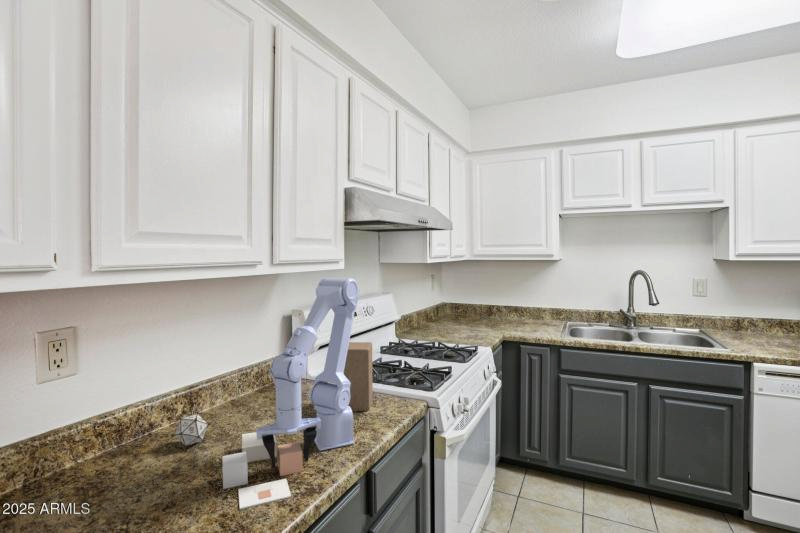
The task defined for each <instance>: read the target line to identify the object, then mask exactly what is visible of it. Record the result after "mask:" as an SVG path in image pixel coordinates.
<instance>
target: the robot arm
mask: <svg viewBox="0 0 800 533" xmlns="http://www.w3.org/2000/svg"><path fill="white" fill-rule="evenodd" d="M315 296H316V298H315V300H314V302H313V304H312V306H311V309H310V311H309V313H308V314H307V317H306V320H305V322H304V323H303V325H302V326H297V327H296V328H295V330H293V332H292V336H291V337H290V339H289V340H288V342H287V345H286V346H285V348H284V349H283V351H282V353H281V354H279V355H277V356H276V357H274V359H273V360H272V362H271V366H270V368H269V374H270V376H271V377H272V379H273V384H274V386H275V408H276V409H275V410H276V413H275V414H276V417H275V419H276V422H274V423H272V424H268V425H265V426H261V427H256V428H255V430H256V431H255V432H256V436H257V440H259V439H262V440H263V444H264V446H265V448H266V450H267V451H268V454H269V456H270V458H269V459H270V466H271V469H275V468H276V465H277V464H276V457H275V442H274V435H275V436H279V435H285V434H286V435H293V434H296V433H297V432H301V431H303V432H302V433H303V434H302V436H303V450H302V455H303V459H304V461H305V462H308V461H309V458H310V457H309V456H310V452H311V449H312V445H313V444H315V446H316V447H317V450H318V451H319V452H320V451H326V450H330V449H335V448H336V449H337V448H340V447H344V446H351V445H354V444H355V440H354V438H355V437H354V436H355V435H354V415H353V414H354V413H353V411H352V410H351V407H350V406H348V405H349V402H350V384H351V383H350V381H349V380H348V379H347V378H346V376H345V375H344V368H345V362H346V357H347V351H348V346H349V342H350V338H351V335H352V334H351V333H352V329H353V328H352V327H353V323H354V317H355V311H356V310H357V305H358V300H359V296H360V288H359V286H358V282H357V281H356V280H355V279H354V278H350V277H349V278H336V277H327V276H325V277H323V278H321V279H320V281H319V282H318V285H317V287H316V288H315ZM330 310H332V311H333V313H334V316H333V321H332V327H331V333H330V337H329V343H328V346H327V351H326V352H327V353H326V357H325V364H324V368H323V371H322V372H321V373H319V374H318V375H316V376H315V377H314V382H313V385H312V387H311V389H310V390H309V391H310V392H309V401H310V404H312V405H313V409H314V410H315V411H316V417H314V418H313V417H310V418H302V412H303V411H302V379H303V378H304V376H305V375H306V373H307V369H308V366H307V364H308V361H309V358H308V357H309V356H310V353H311V352H312V349H313V347H314V346H315V344H316V342H317V340H318V335H317V330H318V329H319V327H320V326H321V324H322V323H323V321H324V320H325V318H326V317H327V315H328V313H329V311H330Z"/></svg>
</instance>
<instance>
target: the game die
mask: <svg viewBox="0 0 800 533" xmlns="http://www.w3.org/2000/svg"><path fill="white" fill-rule="evenodd" d="M199 413H200V410H198V411H196V414H192V415H189V416H185V417H181V416H178V417H177V418H178V420H179V422H178V425H177V427H176V429H175V433H174V434H172V435H171V437H172V438H173V437H176V438H177V440H178V441H180V442H181V444H183V445H184V447H183V450H184V451H185V450H186V449H187V446H191V445H193V444H197V443H200V442H202V443H205V442H206V441H205V440H204V439H205V438H204V437H205V435H206V433H207V431H208V430H207V429H208V426H210V425H212V422H207V421H206V420H205V419H204V418H203V417H202V416H201V415H200V414H199Z"/></svg>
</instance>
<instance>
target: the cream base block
mask: <svg viewBox="0 0 800 533" xmlns="http://www.w3.org/2000/svg"><path fill="white" fill-rule="evenodd" d="M276 437H277V435H274V442H275V458H278V453H277V446H278V444H277V438H276ZM242 452H246V455H247V463H251V462H256V461H263V460H268V459H270V456H269V454H268V451H267V450H266V448H265V446H264V444H263V440H262V439H259V440H257V436H256V431H255V432H249V433H243V434H241V453H242Z"/></svg>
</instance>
